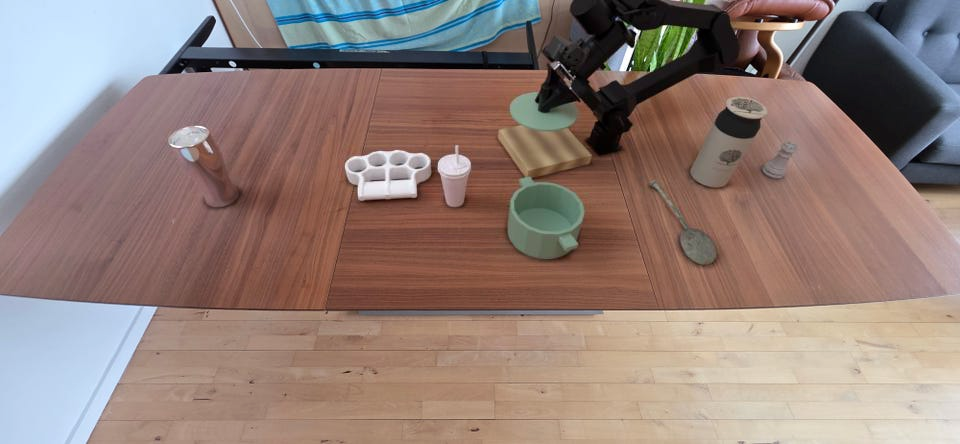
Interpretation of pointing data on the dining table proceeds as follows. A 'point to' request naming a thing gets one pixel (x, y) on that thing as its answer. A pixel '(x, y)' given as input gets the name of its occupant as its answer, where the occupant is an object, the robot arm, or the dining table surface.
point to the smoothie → (454, 177)
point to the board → (543, 150)
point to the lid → (535, 118)
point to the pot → (544, 219)
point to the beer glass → (204, 164)
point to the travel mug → (728, 141)
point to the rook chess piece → (780, 161)
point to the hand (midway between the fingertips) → (538, 106)
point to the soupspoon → (692, 237)
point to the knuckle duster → (388, 174)
